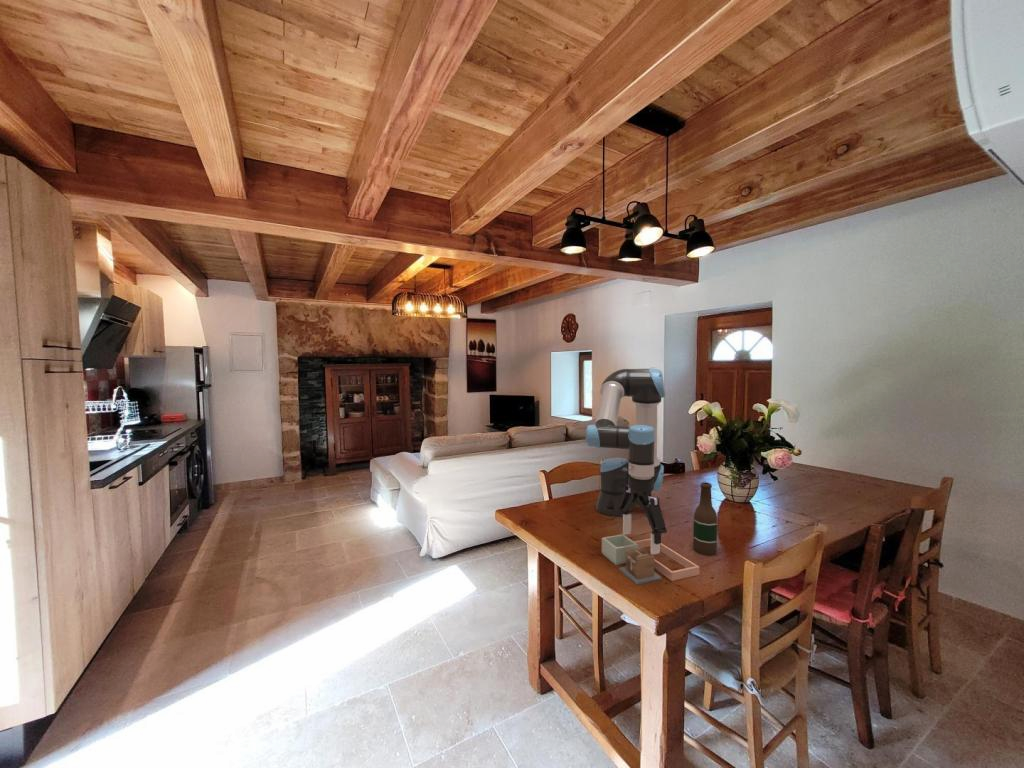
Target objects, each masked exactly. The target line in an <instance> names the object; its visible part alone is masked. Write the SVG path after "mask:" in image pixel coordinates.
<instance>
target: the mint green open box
mask: <svg viewBox="0 0 1024 768" xmlns="http://www.w3.org/2000/svg"><path fill="white" fill-rule="evenodd" d="M634 541H635V540H632V539H630V538H629V537H627V536H626V535H624V534H623V533H621V534H616V535H611V536H604V537H601V554H602V555H603V556H604V557H605V558H607V559H608V560H609V561H611V563H613V564H614V566H619V565H624V564H625V565H626V551H628V550H634V549H638V544H637V543H635V542H634Z"/></svg>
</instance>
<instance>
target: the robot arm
mask: <svg viewBox="0 0 1024 768" xmlns="http://www.w3.org/2000/svg"><path fill="white" fill-rule="evenodd" d="M663 376H664V375H663V371H662V370H661V369H659V368H623V369H622V368H621V369H618V370H615V371H614V372H612V373H611V374H609V375H608V376H607V377H606V378H605V379H604V380H603V382H602V384H601V385H600V392H599V393H600V395H601V397H600V400H599V401H600V402H599V405H598V409H597V412H596V417H595V422H594V424H588V425H587V426H586V430H585V442H586V445H587V446H589V447H595V448H603V449H604V448H605V449H620V450H621V449H623V450H628V459H627V458H624V457H610V458H606V459H604V460H603V459H602V461H601V463H600V470H599V471H600V483H599V485H600V487H599V488H600V491H599V495H598V498H597V501H596V510H598V511H597V512H599V513H600V512H601V513H600V514H603V515H607V516H611V515H612V516H613V517H622V534H623V535H625V536H626V535H630V534H631V535H632V510H633V509H634V507H635V506H638V507H639V508H641V510H642V511H643V512H644V513H645V516H646V519H647V521H648V523H649V525H650V528H651V530H652V531H650V538H651V546H650V554H651V555H653V556H654V555H658V554H660V553H661V551H660V544H661V543H662V534H666V533H668V532H667V531H668V529H667V526H666V522H665V520H664V516H663V513H662V510H661V505H660V504H661V503H660V498H659V497H654V496H652V492H655V493H656V492H660V490H661V489H662V487H663V486H662V485H663V479H664V471H665V468H664V467H665V466H664V465H663V464H661V460H660V459H659V458H658V457H657V453H658V449H657V448H658V447H657V445H658V405H659V404H660V403H662V398H666V393H665V392H666V391H665V384H664V377H663ZM624 397H628V398H630V397H631V402H633V404H634V405H635V424H634V425H630V426H626V425H625V426H623V425H617V424H618V419H619V418H618V417H619V414H620V413H619V412H620V408H621V400H622V398H624Z"/></svg>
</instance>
